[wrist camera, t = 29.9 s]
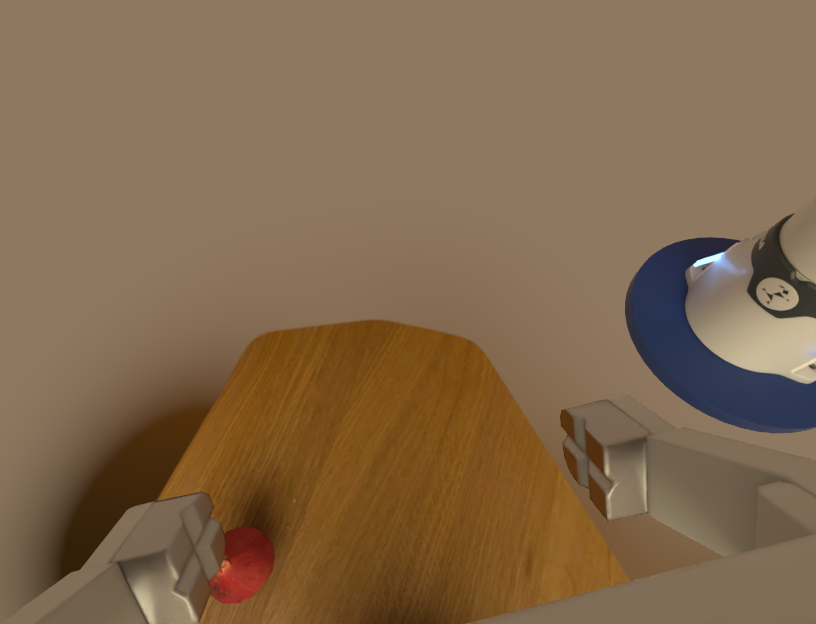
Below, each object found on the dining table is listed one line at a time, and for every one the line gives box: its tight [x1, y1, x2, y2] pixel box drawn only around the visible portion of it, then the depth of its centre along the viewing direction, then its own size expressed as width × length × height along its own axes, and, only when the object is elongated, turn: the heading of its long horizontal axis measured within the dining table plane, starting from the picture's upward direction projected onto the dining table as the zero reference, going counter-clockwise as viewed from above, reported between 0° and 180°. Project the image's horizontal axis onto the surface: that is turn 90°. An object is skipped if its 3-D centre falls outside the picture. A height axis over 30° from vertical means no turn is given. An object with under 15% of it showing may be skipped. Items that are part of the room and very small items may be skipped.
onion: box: [208, 526, 275, 603], centre depth 35 cm, size 6×6×8 cm
